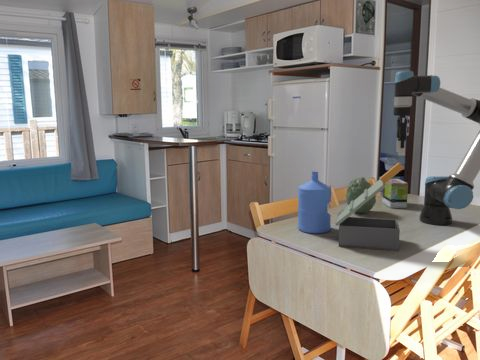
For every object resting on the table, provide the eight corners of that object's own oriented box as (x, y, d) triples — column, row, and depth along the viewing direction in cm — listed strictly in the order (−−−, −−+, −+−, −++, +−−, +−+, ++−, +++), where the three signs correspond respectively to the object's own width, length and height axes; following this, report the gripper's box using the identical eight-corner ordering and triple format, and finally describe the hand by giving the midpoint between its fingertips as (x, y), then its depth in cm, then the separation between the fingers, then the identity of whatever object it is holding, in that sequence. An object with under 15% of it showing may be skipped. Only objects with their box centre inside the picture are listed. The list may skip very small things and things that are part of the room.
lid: (401, 164, 184) (397, 160, 185) (405, 170, 168) (400, 165, 168) (339, 216, 196) (335, 211, 196) (336, 226, 180) (332, 221, 180)
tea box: (407, 208, 245) (408, 182, 242) (389, 208, 245) (391, 183, 243) (398, 202, 260) (399, 178, 257) (381, 202, 260) (382, 178, 257)
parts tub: (396, 239, 190) (397, 219, 188) (398, 250, 175) (399, 229, 173) (340, 235, 197) (341, 216, 195) (338, 246, 182) (339, 225, 180)
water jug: (309, 235, 197) (309, 175, 192) (291, 227, 211) (292, 171, 206) (337, 231, 203) (338, 173, 198) (318, 223, 217) (319, 168, 212)
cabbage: (379, 210, 239) (381, 175, 236) (369, 218, 224) (370, 181, 220) (352, 207, 248) (353, 173, 245) (340, 214, 233) (341, 178, 229)
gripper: (392, 106, 205) (390, 150, 208) (395, 107, 181) (393, 156, 185) (408, 106, 203) (406, 150, 206) (414, 106, 179) (412, 157, 183)
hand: (400, 153), depth 195 cm, fingers open, 13 cm apart
